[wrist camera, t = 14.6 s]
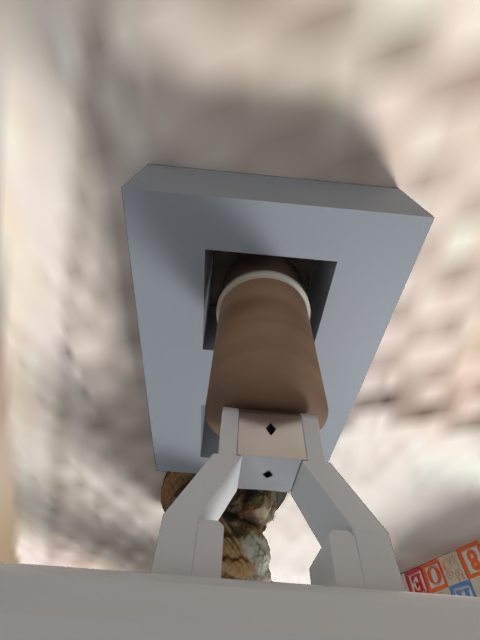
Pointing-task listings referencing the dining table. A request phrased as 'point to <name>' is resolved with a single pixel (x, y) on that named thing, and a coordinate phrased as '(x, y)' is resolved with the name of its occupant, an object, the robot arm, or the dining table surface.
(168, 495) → the beige rough lumpy piece
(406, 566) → the dining table surface
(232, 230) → the two-hole board
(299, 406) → the walnut peg
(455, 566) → the stack of blocks
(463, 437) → the dining table surface
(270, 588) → the robot arm
